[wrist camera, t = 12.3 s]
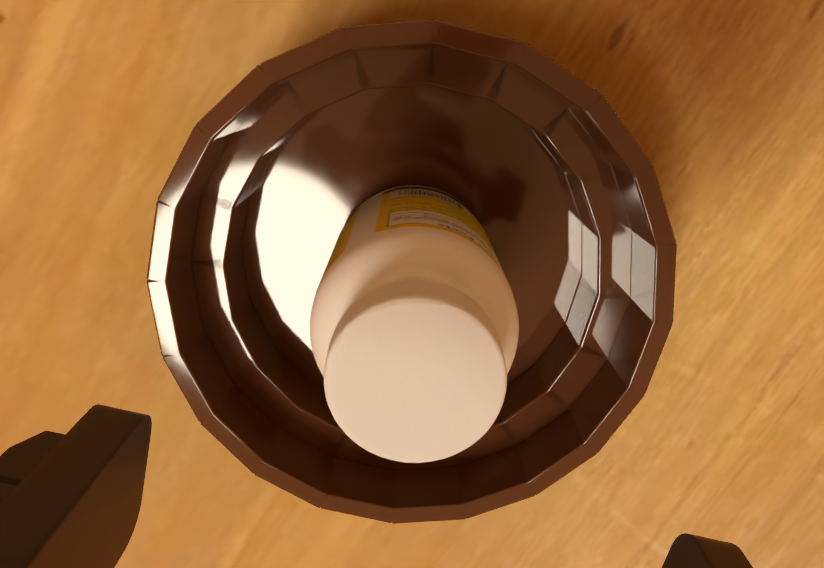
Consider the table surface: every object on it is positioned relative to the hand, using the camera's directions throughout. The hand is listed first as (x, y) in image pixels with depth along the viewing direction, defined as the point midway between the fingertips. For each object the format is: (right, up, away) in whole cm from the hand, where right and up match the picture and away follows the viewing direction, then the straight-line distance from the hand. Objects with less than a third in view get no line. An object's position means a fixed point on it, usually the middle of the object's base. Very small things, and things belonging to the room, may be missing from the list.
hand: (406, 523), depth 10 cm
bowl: (0, +5, +14) cm, 15 cm away
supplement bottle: (0, +5, +14) cm, 15 cm away
